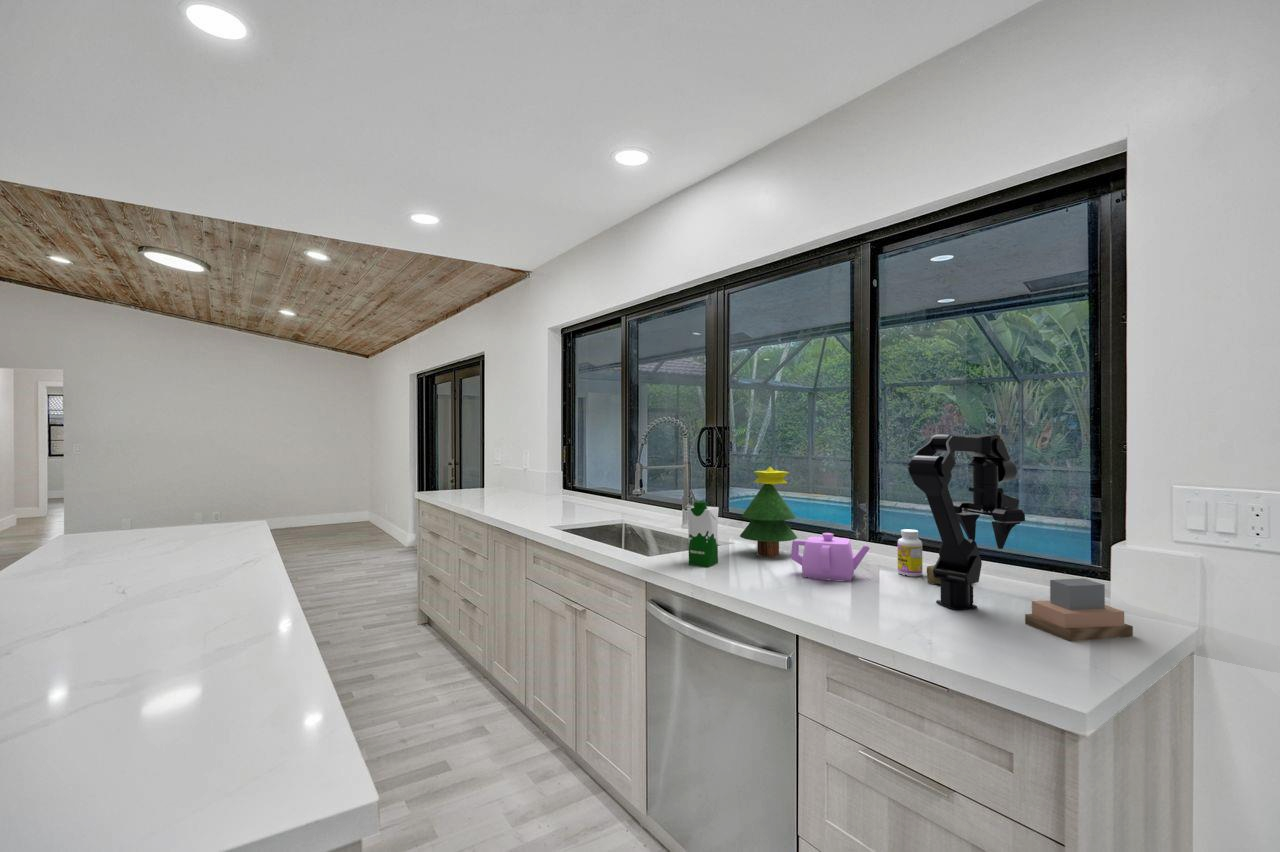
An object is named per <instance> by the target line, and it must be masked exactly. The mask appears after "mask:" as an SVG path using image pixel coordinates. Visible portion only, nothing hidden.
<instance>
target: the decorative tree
mask: <svg viewBox="0 0 1280 852" xmlns="http://www.w3.org/2000/svg"><path fill="white" fill-rule="evenodd" d="M753 473H754V474H755V475H756V476H757V478H756V479H754V481H753V483H757V484H763V485H762V486H761V487H760V489H759V491H758V492H757V493H756V495H755V496H754V497H753V499H752V501H751V502H750V503H749V505H748V506H747V508H746V509H745V511H744V512H743V513H742V515H741V517H742V518H744V519H746V520H747V519H748V520H751V521H750V522H749V523H748V524H747V526H746V527H745V528H744V529H743V530H742V532H741V533H740V534H739V537H740V538H741V539H744V540H749V541H755V542H756V541H757V556H761V557H766V558H767V557H768V558H769V557H770V558H771V557H779V556H780V542H789V541H790V542H791V541H793V540H798V536H797V535H796V533H795V532H794V531H793V530H792V529H791V527H790V525H788V523H787V522H786V521H789V520H795V519H796V516H795V514H794V512H793V511H792V509H791V508H790V507H789V506H788V504H787V503H786V501H785V500H784V498H783V497H782V496H781V494H780V493H779V492H778V490H777V488H776V487H775V485H776V484H788V482H787V481H786V480H785V479H784V477H786V476H787V475H788V474H789V473H790V472H789V471H781V470H775V469H774V468H773V467H772V466H769V467H768V468H767V469H766V470H755V471H753Z"/></svg>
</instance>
